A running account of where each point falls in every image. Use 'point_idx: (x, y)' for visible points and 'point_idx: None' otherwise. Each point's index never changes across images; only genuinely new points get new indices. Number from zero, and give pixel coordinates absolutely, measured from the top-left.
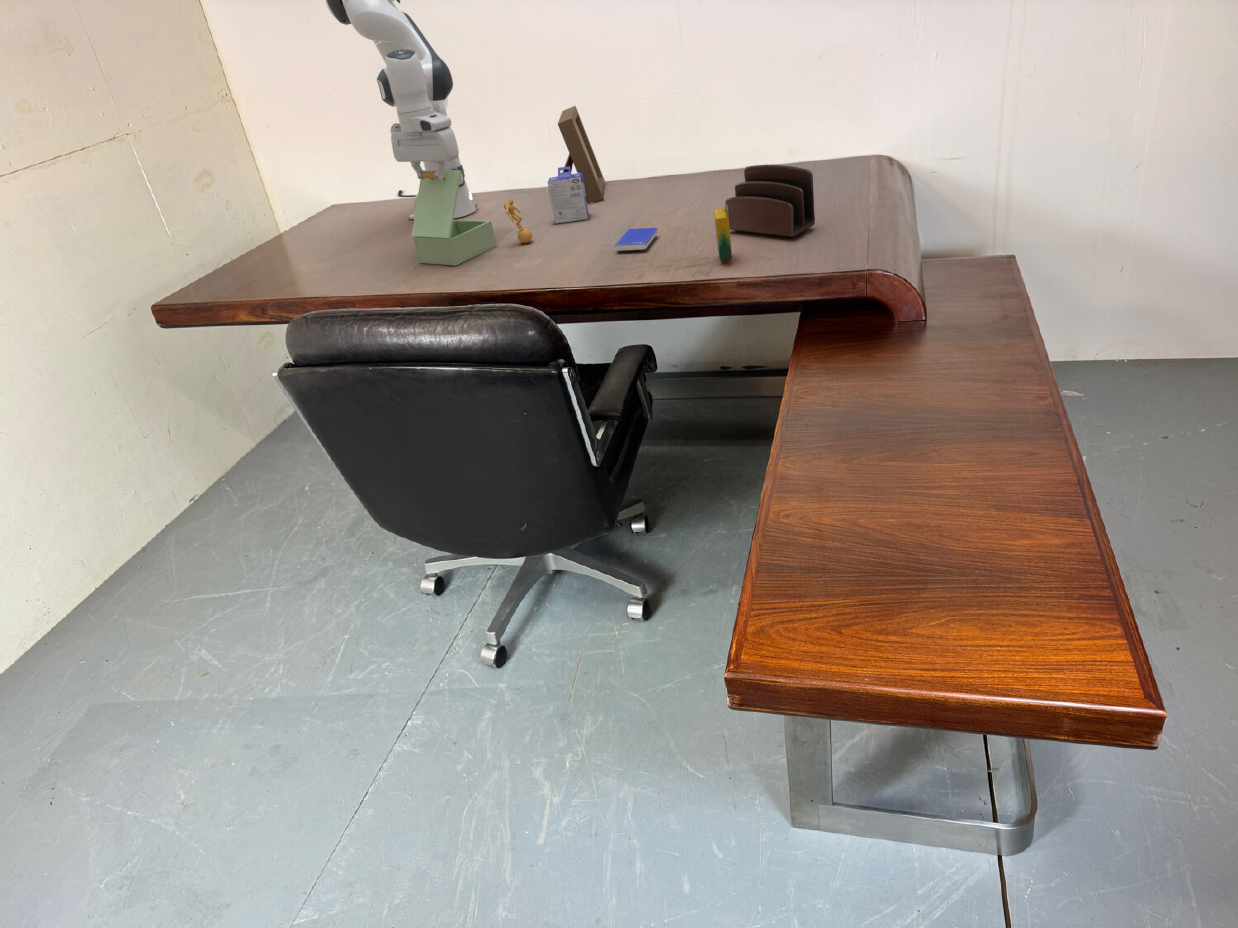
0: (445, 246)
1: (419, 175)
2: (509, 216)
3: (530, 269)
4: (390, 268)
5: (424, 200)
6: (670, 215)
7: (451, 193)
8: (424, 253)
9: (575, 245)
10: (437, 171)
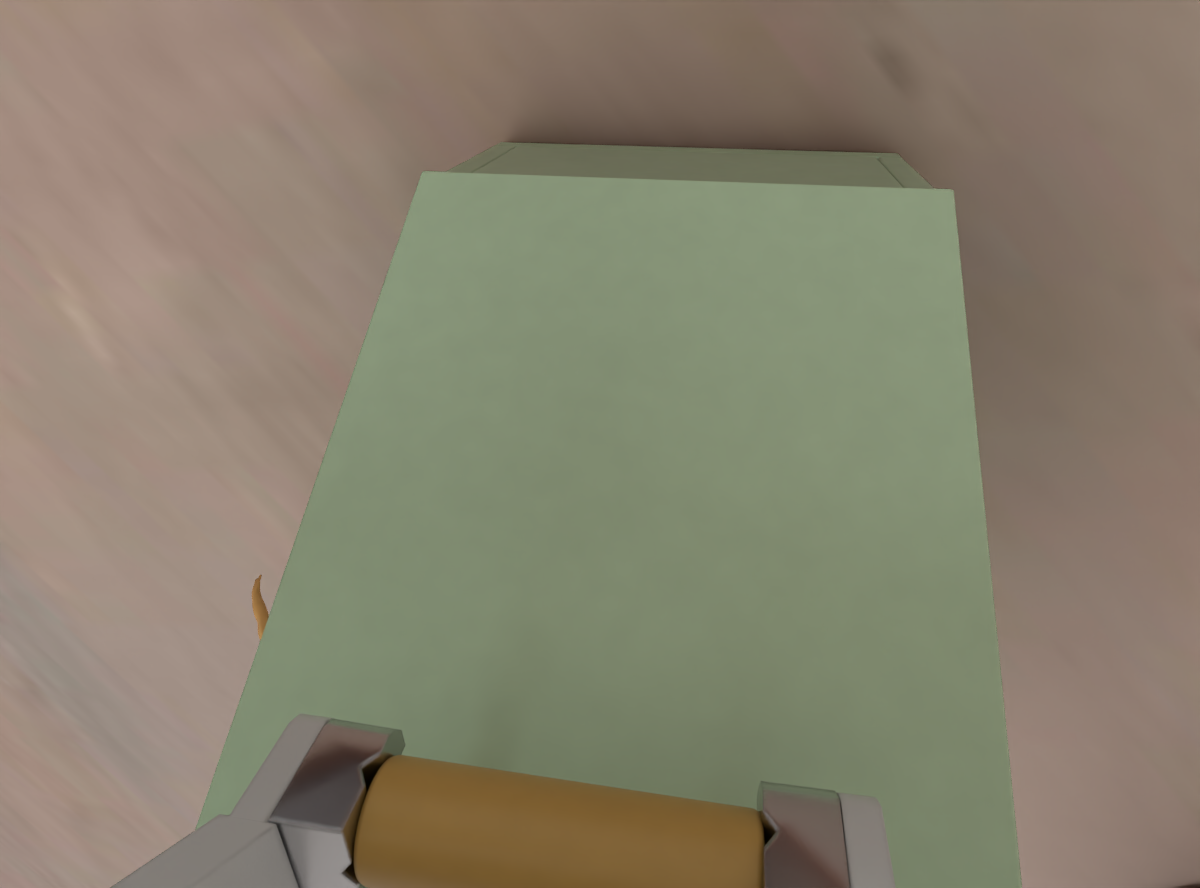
0: (522, 168)
1: (823, 856)
2: (256, 605)
3: (10, 207)
4: (1183, 9)
5: (838, 546)
6: (66, 814)
7: (347, 587)
8: (815, 164)
9: (116, 544)
10: (228, 838)
